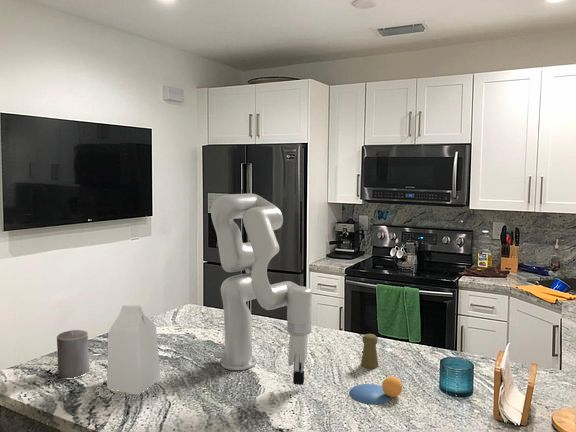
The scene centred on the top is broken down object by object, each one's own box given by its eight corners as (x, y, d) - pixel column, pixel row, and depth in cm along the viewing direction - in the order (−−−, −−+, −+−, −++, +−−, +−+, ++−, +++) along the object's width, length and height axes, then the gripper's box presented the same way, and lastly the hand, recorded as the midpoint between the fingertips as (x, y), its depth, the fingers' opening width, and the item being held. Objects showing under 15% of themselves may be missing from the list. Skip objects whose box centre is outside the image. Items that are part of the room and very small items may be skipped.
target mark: (348, 402, 146) (348, 401, 146) (349, 383, 159) (349, 382, 158) (393, 405, 144) (393, 404, 144) (391, 385, 157) (391, 385, 157)
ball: (407, 392, 146) (392, 404, 147) (405, 383, 151) (391, 395, 153) (392, 377, 146) (377, 389, 147) (392, 369, 152) (377, 381, 153)
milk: (160, 379, 162) (158, 302, 159) (139, 395, 151) (136, 312, 148) (130, 374, 166) (127, 299, 163) (107, 389, 155) (103, 309, 152)
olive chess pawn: (378, 369, 169) (378, 338, 168) (360, 368, 170) (360, 337, 169) (378, 362, 175) (379, 332, 174) (361, 361, 176) (361, 331, 175)
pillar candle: (53, 374, 166) (51, 331, 165) (82, 365, 174) (80, 324, 172) (65, 382, 160) (63, 338, 158) (94, 373, 167) (93, 330, 165)
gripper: (290, 318, 160) (290, 372, 162) (283, 334, 146) (283, 393, 148) (313, 319, 159) (312, 374, 161) (308, 336, 145) (308, 395, 147)
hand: (298, 383), depth 154 cm, fingers closed
